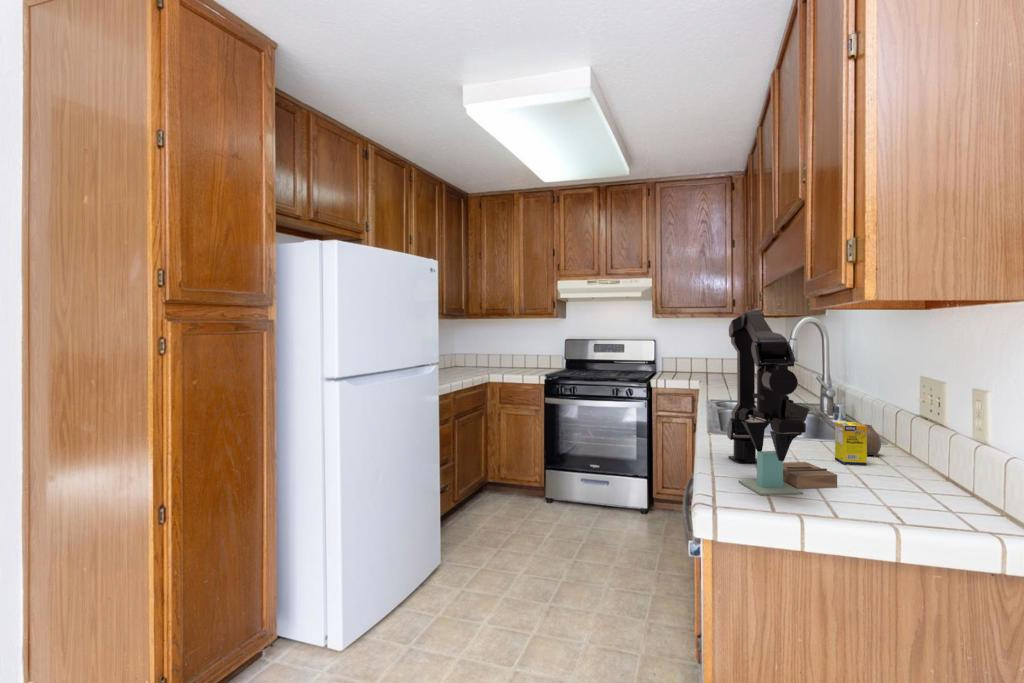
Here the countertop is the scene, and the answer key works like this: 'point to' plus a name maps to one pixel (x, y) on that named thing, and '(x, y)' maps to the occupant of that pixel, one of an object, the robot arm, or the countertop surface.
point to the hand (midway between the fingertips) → (770, 455)
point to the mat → (770, 491)
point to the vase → (872, 441)
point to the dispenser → (807, 476)
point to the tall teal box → (769, 470)
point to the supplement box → (851, 443)
